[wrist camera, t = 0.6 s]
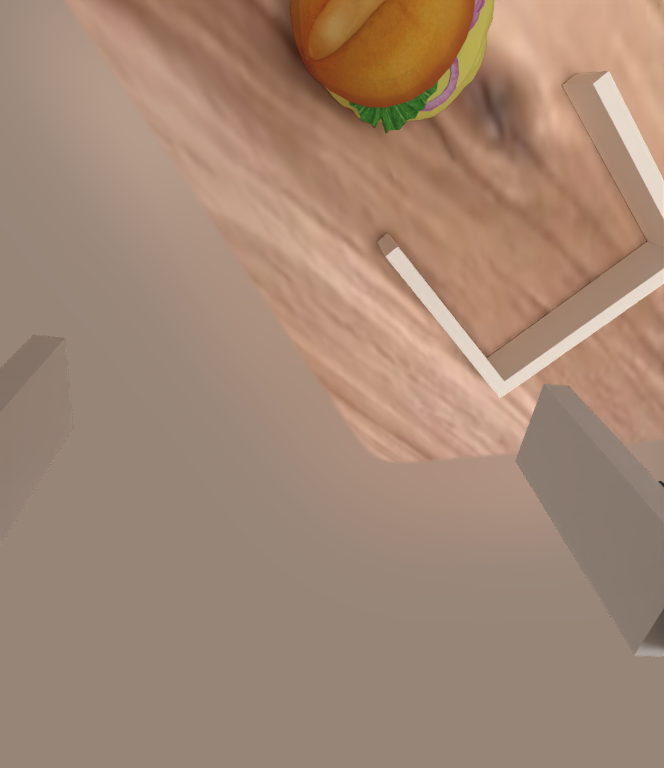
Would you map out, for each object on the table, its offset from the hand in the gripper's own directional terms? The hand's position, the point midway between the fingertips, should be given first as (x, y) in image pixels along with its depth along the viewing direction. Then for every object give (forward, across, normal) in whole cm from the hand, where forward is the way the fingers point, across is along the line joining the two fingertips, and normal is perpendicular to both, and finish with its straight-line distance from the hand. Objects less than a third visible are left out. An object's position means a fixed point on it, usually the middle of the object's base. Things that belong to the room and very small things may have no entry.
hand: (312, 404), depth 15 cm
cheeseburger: (+26, +4, +11) cm, 28 cm away
